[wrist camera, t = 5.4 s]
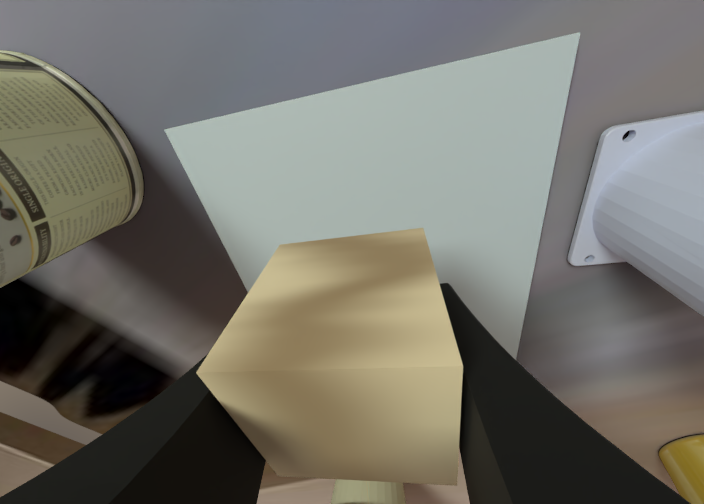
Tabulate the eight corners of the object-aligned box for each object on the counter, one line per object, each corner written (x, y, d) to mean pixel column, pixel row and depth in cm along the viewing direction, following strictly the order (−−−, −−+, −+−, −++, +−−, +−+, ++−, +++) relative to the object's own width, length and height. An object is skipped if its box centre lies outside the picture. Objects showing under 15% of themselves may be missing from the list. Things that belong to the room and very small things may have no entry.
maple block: (423, 227, 8) (462, 365, 4) (428, 333, 11) (457, 485, 7) (279, 244, 9) (196, 372, 5) (315, 338, 12) (278, 476, 8)
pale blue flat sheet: (571, 34, 11) (581, 31, 11) (502, 411, 26) (504, 418, 26) (171, 128, 15) (163, 129, 14) (313, 411, 30) (311, 417, 29)
